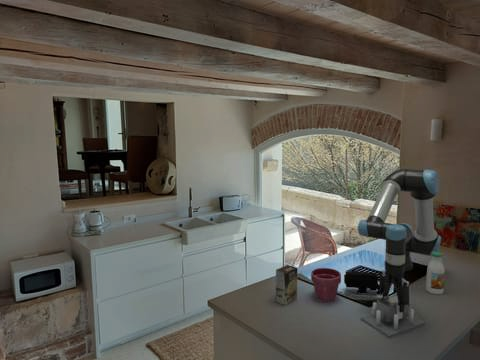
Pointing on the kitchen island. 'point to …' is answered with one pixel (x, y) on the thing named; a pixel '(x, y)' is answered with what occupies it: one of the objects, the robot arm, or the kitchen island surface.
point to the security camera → (362, 281)
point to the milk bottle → (435, 274)
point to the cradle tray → (392, 322)
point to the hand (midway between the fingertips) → (392, 314)
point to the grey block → (390, 308)
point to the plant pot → (326, 283)
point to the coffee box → (286, 284)
